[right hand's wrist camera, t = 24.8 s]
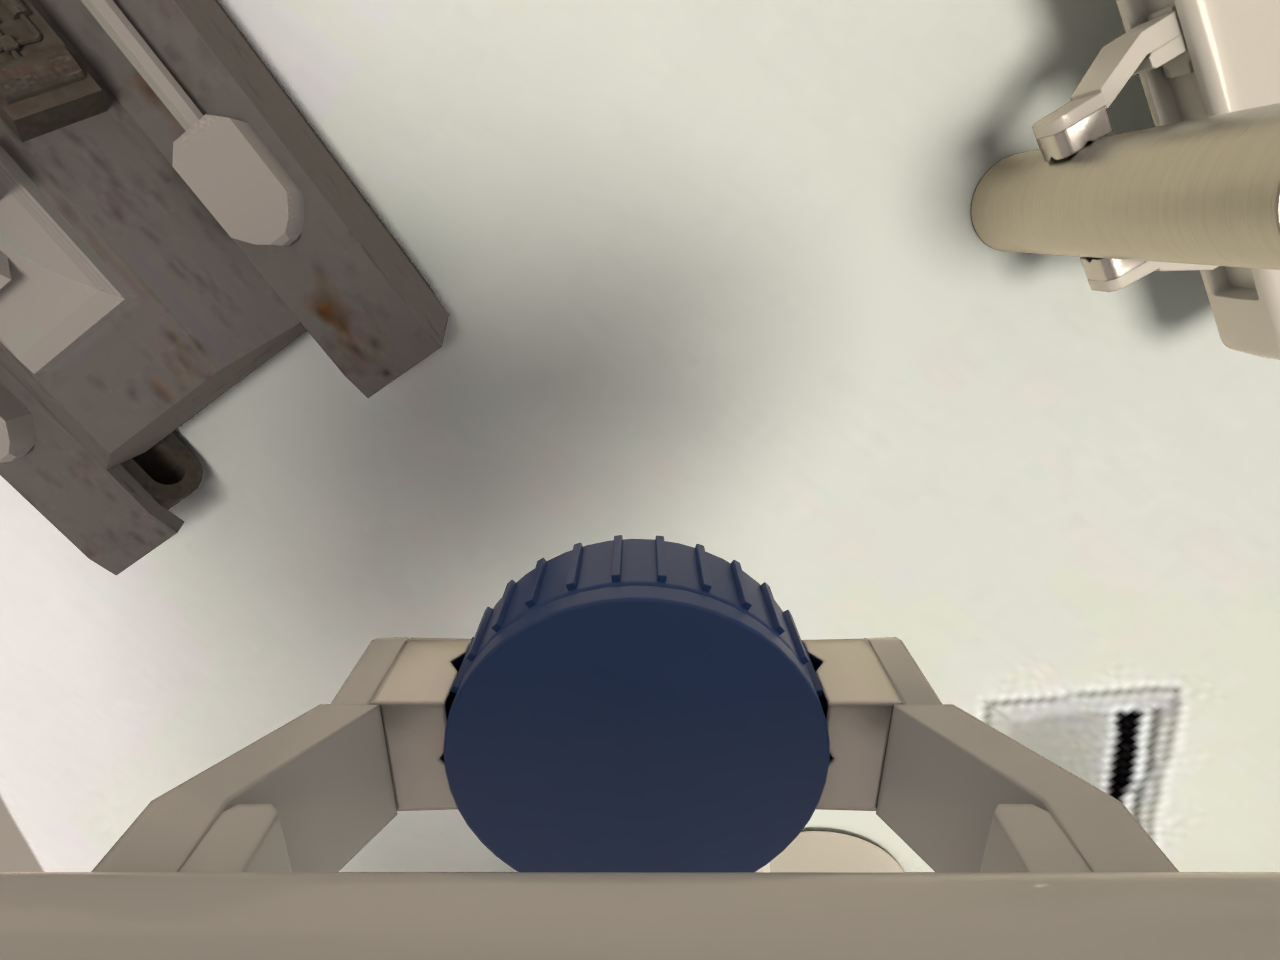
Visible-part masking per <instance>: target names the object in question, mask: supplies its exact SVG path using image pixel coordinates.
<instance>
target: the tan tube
mask: <svg viewBox="0 0 1280 960" xmlns="http://www.w3.org/2000/svg"><path fill="white" fill-rule="evenodd" d="M971 216H972V222H973V226H974V228H975V231H976V233H977V234H978V236H979V237H980V239H981V240H982V241H983V242H984V243H985V244H987V245H988V246H990V247H992V248H994V249H996V250H1000V251H1006V252H1020V253H1035V254H1050V255H1065V256H1080V257H1094V258H1109V259H1124V260H1139V261H1154V262H1169V263H1184V264H1199V265H1214V266H1229V267H1244V268H1259V269H1273V270H1280V103H1276V104H1271V105H1266V106H1261V107H1255V108H1250V109H1245V110H1240V111H1235V112H1229V113H1224V114H1219V115H1214V116H1209V117H1204V118H1198V119H1193V120H1188V121H1183V122H1178V123H1173V124H1167V125H1162V126H1157V127H1152V128H1147V129H1141V130H1136V131H1131V132H1126V133H1121V134H1116V135H1110V136H1105V137H1102V138H1100V139H1098V140H1096V141H1092V142H1087V143H1086V145H1085V147H1084V148H1082V149H1081V150H1080V151H1078V152H1076V153H1075V154H1072V155H1070V156H1068V157H1066V158H1063V159H1060V160H1055V159H1052V160H1051V161H1047V162H1045V161H1044V158H1043V156H1042V153H1041V150H1040V149H1038V150H1033V151H1028V152H1022V153H1017V154H1014V155H1011V156H1008V157H1006V158H1004V159H1002V160H1001V161H999V162H998V163H996V164H995V165H994V166H993V167H991V168H990V169H989V170H988V171H987V173H986V174H985V175H984V176H983V178H982V179H981V181H980V182H979V184H978V186H977V188H976V191H975V193H974V196H973V200H972V206H971Z"/></svg>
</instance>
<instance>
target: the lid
mask: <svg viewBox="0 0 1280 960" xmlns="http://www.w3.org/2000/svg"><path fill="white" fill-rule="evenodd" d="M451 692H453V693H456V696H455V698H454V701H453V703H452V706H451V709H450V712H449V716H448V720H447V724H446V728H445V736H444V748H443V751H444V763H445V772H446V776H447V780H448V784H449V788H450V791H451V794H452V796H453V798H454V801H455V803H456V806H457V808H458V810H459V811H460V813H461V815H462V816H463V818H464V820H465V821H466V823H467V825H468V826H469V827H470V829H471V830H472V831H473V832H474V834H475V835H476V836H477V837H478V838H479V840H480V841H481V842H482V843H483V844H484V845H485V846H486V847H487V848H488V849H489V850H490V851H491V852H493V853H494V854H495V855H496V856H497V857H498V858H499V859H501V860H502V861H504V862H505V863H506V864H508V865H509V866H510V867H512V868H513V869H515V870H516V871H518V872H756V871H757V870H759V869H761V868H762V867H764V866H765V865H767V864H768V863H769V862H771V861H772V860H773V859H774V858H775V857H777V856H778V855H779V854H780V853H782V852H783V851H784V850H785V849H786V848H787V847H788V846H789V845H790V844H791V843H792V842H793V840H794V839H795V838H796V837H797V836H798V835H799V834H800V832H801V831H802V830H803V828H804V827H805V825H806V824H807V823H808V821H809V820H810V818H811V816H812V814H813V812H814V811H815V809H816V807H817V805H818V803H819V801H820V798H821V795H822V792H823V789H824V786H825V783H826V779H827V773H828V767H829V762H830V740H829V733H828V727H827V721H826V718H825V715H824V712H823V709H822V706H821V703H820V700H819V698H818V697H820V696H823V691H822V688H821V685H820V683H819V680H818V678H817V675H816V673H815V670H814V668H813V665H812V662H811V660H810V657H809V655H808V652H807V650H806V647H805V644H804V642H803V640H802V641H801V638H800V636H799V633H798V631H797V628H796V626H795V623H794V620H793V618H792V615H791V613H790V612H789V610H786V611H784V612H783V611H782V610H781V608H780V607H779V606H778V604H777V603H776V601H775V600H774V598H773V595H772V592H771V590H770V587H769V586H768V585H767V584H766V583H765V582H764V583H763V584H762V585H760V584H759V583H758V582H756V581H755V580H754V579H753V578H751V577H750V576H749V575H747V574H746V573H745V572H743V571H742V569H741V565H740V563H739V562H737V561H735V560H733V561H732V563H731V564H730V563H729V562H727V561H725V560H724V559H722V558H719V557H717V556H714V555H712V554H710V553H707V552H705V549H704V546H702V545H699V544H697V545H696V547H695V548H693V547H689V546H686V545H682V544H679V543H673V542H666V541H664V537H663V536H656V540H647V539H626V540H623V539H622V535H619V536H614V541H606V542H601V543H597V544H592V545H587V546H584V547H583V546H582V544H581V543H578V544H575V545H574V547H573V550H572V551H569V552H566V553H563V554H561V555H559V556H557V557H555V558H553V559H551V560H549V561H546V560H545V559H544V558H542V559H540V560H539V561H537V565H536V568H535V569H534V570H532V571H531V572H529V573H528V574H526V575H525V576H524V577H523V578H521V579H520V580H519V581H518V582H517V583H516V582H514V581H513V580H511V581H510V582H509V583H508V584H507V586H506V589H505V592H504V594H503V597H502V598H501V599H500V600H499V602H498V603H497V604H496V605H495V607H494V609H492V608H490V607H487V609H486V610H485V612H484V615H483V617H482V620H481V622H480V625H479V627H478V630H477V632H476V635H475V637H472V640H471V642H470V644H469V647H468V649H467V652H466V654H465V657H464V659H463V662H462V664H461V667H460V669H459V672H458V674H457V677H456V679H455V681H454V684H453V686H452V690H451Z"/></svg>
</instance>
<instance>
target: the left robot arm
mask: <svg viewBox="0 0 1280 960" xmlns="http://www.w3.org/2000/svg"><path fill="white" fill-rule="evenodd" d="M1116 2H1117V5H1118V9H1119V12H1120V15H1121V18H1122V22H1123V25H1124V28H1125V31H1126V33H1124V34H1123V35H1121V36H1120V37H1118V38H1116V39H1115V40H1113V41H1112V42H1110V43H1108V44H1107V45H1105V46H1104V47H1102V49H1101V50H1100V52H1099V53H1098V55H1097V57H1096V58H1095V60H1094V61H1093V63H1092V64H1091V66H1090V68H1089V69H1088V71H1087V72H1086V74H1085V75H1084V77H1083V79H1082V80H1081V82H1080V83H1079V85H1078V86H1077V88H1076V90H1075V91H1074V93H1073V94H1072V96H1071V97H1070V98H1071V101H1070V102H1069V103H1067V104H1065V105H1064V106H1062V107H1060V108H1059V109H1057V110H1056V111H1054V112H1052V113H1051V114H1049V115H1047V116H1046V117H1044V118H1042V119H1041V120H1039V121H1038V122H1036V123H1035V124H1034V125H1033V126H1032V129H1033V131H1034V134H1035V137H1036V140H1037V142H1038V145H1039V148H1040V150H1041V153H1042V156H1043V158H1044V161H1045V162H1047V161H1051V160H1052V159H1055V160H1060V159H1063V158H1066V157H1068V156H1070V155H1072V154H1075V153H1076V152H1078V151H1080V150H1081V149H1082V148H1084V147H1085V145H1086V143H1087V142H1092V141H1096V140H1098V139H1100V138H1102V137H1103V136H1105V135H1107V134H1108V133H1110V132H1111V131H1112V127H1111V124H1110V121H1109V117H1108V114H1107V110H1106V109H1108V108H1109V106H1110V105H1111V103H1112V102H1113V101H1114V99H1115V98H1116V97H1117V95H1118V94H1119V93H1120V91H1121V90H1122V88H1123V87H1124V86H1125V84H1126V83H1127V82H1128V80H1129V79H1130V77H1131V76H1133V75H1136V74H1139V76H1140V80H1141V83H1142V86H1143V89H1144V92H1145V96H1146V99H1147V102H1148V105H1149V109H1150V112H1151V115H1152V118H1153V121H1154V125H1155V127H1157V126H1162V125H1167V124H1173V123H1178V122H1183V121H1188V120H1193V119H1198V118H1204V117H1209V116H1214V115H1219V114H1224V113H1229V112H1235V111H1240V110H1245V109H1250V108H1255V107H1261V106H1266V105H1271V104H1276V103H1280V0H1116ZM1080 258H1081V261H1082V264H1083V267H1084V270H1085V273H1086V276H1087V278H1088V282H1089V285H1090V287H1091V289H1092V290H1096V291H1104V292H1111V291H1116V290H1119V289H1122V288H1124V287H1126V286H1128V285H1130V284H1131V283H1133V282H1135V281H1137V280H1139V279H1141V278H1142V277H1144V276H1146V275H1148V274H1150V273H1151V272H1153V271H1185V270H1200V273H1201V276H1202V279H1203V282H1204V286H1205V289H1206V292H1207V295H1208V299H1209V302H1210V305H1211V308H1212V311H1213V315H1214V318H1215V321H1216V324H1217V328H1218V331H1219V335H1220V338H1221V340H1222V342H1223V344H1224V345H1225V346H1227V347H1229V348H1231V349H1233V350H1237V351H1241V352H1245V353H1248V354H1252V355H1256V356H1260V357H1265V358H1270V359H1276V360H1280V270H1273V269H1259V268H1244V267H1229V266H1214V265H1199V264H1184V263H1169V262H1154V261H1139V260H1124V259H1109V258H1094V257H1080Z"/></svg>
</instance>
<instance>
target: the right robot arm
mask: <svg viewBox="0 0 1280 960" xmlns="http://www.w3.org/2000/svg"><path fill="white" fill-rule="evenodd" d="M471 640H472V639H446V638H410V639H409V638H377V639H375V640H373V641H372V642H371V643H370V644H369V646H368V647H367V649H366V650H365V652H364V653H363V655H362V657H361V658H360V660H359V661H358V663H357V664H356V666H355V667H354V669H353V670H352V672H351V673H350V675H349V677H348V678H347V680H346V681H345V683H344V684H343V686H342V687H341V689H340V690H339V692H338V693H337V695H336V697H335V698H334V700H333V701H332V703H331V704H330V705H319V706H317V707H315V708H313V709H312V710H310V711H308V712H306V713H305V714H303V715H301V716H299V717H298V718H296V719H294V720H292V721H291V722H289V723H287V724H285V725H284V726H282V727H280V728H278V729H277V730H275V731H273V732H271V733H270V734H268V735H266V736H264V737H263V738H261V739H259V740H257V741H256V742H254V743H252V744H250V745H249V746H247V747H245V748H243V749H242V750H240V751H238V752H236V753H235V754H233V755H231V756H229V757H228V758H226V759H224V760H222V761H221V762H219V763H217V764H215V765H214V766H212V767H210V768H208V769H207V770H205V771H203V772H201V773H200V774H198V775H196V776H195V777H193V778H191V779H189V780H188V781H186V782H184V783H182V784H181V785H179V786H177V787H175V788H174V789H172V790H170V791H168V792H167V793H165V794H163V795H161V796H160V797H158V798H156V799H154V800H153V801H151V802H150V803H149V805H148V806H147V807H146V808H145V809H144V811H143V812H142V813H141V814H140V815H139V816H138V818H137V819H136V820H135V821H134V822H133V823H132V825H131V826H130V827H129V828H128V829H127V830H126V832H125V833H124V834H123V835H122V836H121V838H120V839H119V840H118V841H117V842H116V843H115V845H114V846H113V847H112V848H111V849H110V850H109V852H108V853H107V854H106V855H105V856H104V858H103V859H102V860H101V861H100V862H99V863H98V865H97V866H96V867H95V868H94V869H93V870H92V872H0V960H1280V872H1179V871H1178V870H1177V869H1176V868H1175V866H1174V865H1173V864H1172V863H1171V861H1170V860H1169V859H1168V858H1167V857H1166V855H1165V854H1164V853H1163V852H1162V851H1161V849H1160V848H1159V847H1158V846H1157V845H1156V843H1155V842H1154V841H1153V840H1152V839H1151V837H1150V836H1149V835H1148V834H1147V833H1146V831H1145V830H1144V829H1143V828H1142V827H1141V825H1140V824H1139V823H1138V822H1137V821H1136V819H1135V818H1134V817H1133V816H1132V815H1131V813H1130V812H1129V811H1128V810H1127V808H1126V807H1125V806H1124V805H1123V804H1122V802H1120V801H1118V800H1117V799H1115V798H1113V797H1111V796H1110V795H1108V794H1106V793H1105V792H1103V791H1101V790H1099V789H1098V788H1096V787H1094V786H1092V785H1091V784H1089V783H1087V782H1086V781H1084V780H1082V779H1080V778H1079V777H1077V776H1075V775H1074V774H1072V773H1070V772H1068V771H1067V770H1065V769H1063V768H1061V767H1060V766H1058V765H1056V764H1055V763H1053V762H1051V761H1049V760H1048V759H1046V758H1044V757H1042V756H1041V755H1039V754H1037V753H1036V752H1034V751H1032V750H1030V749H1029V748H1027V747H1025V746H1023V745H1022V744H1020V743H1018V742H1017V741H1015V740H1013V739H1011V738H1010V737H1008V736H1006V735H1004V734H1003V733H1001V732H999V731H998V730H996V729H994V728H992V727H991V726H989V725H987V724H986V723H984V722H982V721H980V720H979V719H977V718H975V717H973V716H972V715H970V714H968V713H967V712H965V711H963V710H961V709H960V708H958V707H956V706H954V705H944V704H942V703H941V701H940V699H939V698H938V696H937V695H936V693H935V692H934V690H933V689H932V687H931V685H930V684H929V682H928V681H927V679H926V678H925V676H924V675H923V673H922V671H921V670H920V668H919V667H918V665H917V664H916V662H915V661H914V659H913V657H912V656H911V654H910V653H909V651H908V650H907V648H906V647H905V645H904V643H903V642H902V640H900V639H898V638H897V637H886V638H864V639H827V640H803V642H804V644H805V647H806V650H807V652H808V655H809V657H810V660H811V662H812V665H813V668H814V670H815V673H816V675H817V678H818V680H819V683H820V685H821V688H822V691H823V696H820V697H818V698H819V700H820V703H821V706H822V709H823V712H824V715H825V718H826V721H827V727H828V733H829V740H830V762H829V767H828V773H827V779H826V783H825V786H824V789H823V792H822V795H821V798H820V801H819V803H818V805H817V807H816V809H827V810H862V811H876V814H877V815H878V816H879V817H880V818H881V819H882V820H883V821H884V822H885V823H886V824H887V825H888V826H889V827H890V828H891V829H892V830H893V831H894V832H895V833H896V834H897V835H898V836H899V837H900V838H901V839H902V840H903V841H904V842H905V843H906V844H907V845H908V846H909V847H910V848H911V849H913V850H914V851H915V852H916V853H917V854H918V855H919V856H920V857H921V858H922V859H923V860H924V861H925V862H926V863H927V864H928V865H929V866H930V867H931V868H932V869H933V870H934V871H935V872H904V871H903V870H902V868H901V867H900V865H899V864H898V863H897V862H896V861H895V860H894V859H893V858H892V857H891V856H890V855H889V854H888V853H886V852H885V851H884V850H882V849H881V848H879V847H877V846H876V845H874V844H872V843H870V842H868V841H865V840H863V839H860V838H857V837H854V836H850V835H846V834H842V833H836V832H827V831H803V832H800V834H799V835H798V836H797V837H796V838H795V839H794V840H793V842H792V843H791V844H790V845H789V846H788V847H787V848H786V849H785V850H784V851H783V852H782V853H780V854H779V855H778V856H777V857H775V858H774V859H773V860H772V861H771V862H769V863H768V864H767V865H765V866H764V867H762V868H761V869H759V870H757V871H756V872H338V871H339V870H340V869H341V868H342V867H343V866H344V865H346V864H347V863H348V862H349V861H350V860H351V859H352V858H353V857H354V856H355V855H356V854H357V853H358V852H359V851H360V850H361V849H362V848H363V847H364V846H365V845H366V844H367V843H368V842H369V841H370V840H371V839H372V838H373V837H374V836H375V835H376V834H377V833H379V832H380V831H381V830H382V829H383V828H384V827H385V826H386V825H387V824H388V823H389V822H390V821H391V820H392V819H393V818H394V817H395V816H396V815H397V811H411V810H445V809H458V808H457V806H456V803H455V801H454V798H453V796H452V794H451V791H450V788H449V784H448V780H447V776H446V772H445V763H444V751H443V748H444V736H445V728H446V724H447V720H448V716H449V712H450V709H451V706H452V703H453V701H454V698H455V696H456V693H453V692H451V690H452V686H453V684H454V681H455V679H456V677H457V674H458V672H459V669H460V667H461V664H462V662H463V659H464V657H465V654H466V652H467V649H468V647H469V644H470V642H471ZM801 641H802V640H801Z"/></svg>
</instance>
